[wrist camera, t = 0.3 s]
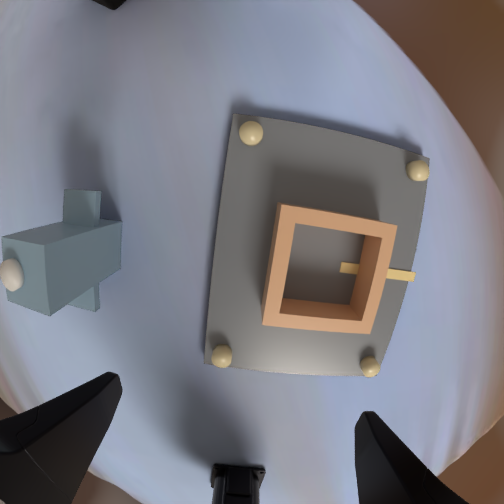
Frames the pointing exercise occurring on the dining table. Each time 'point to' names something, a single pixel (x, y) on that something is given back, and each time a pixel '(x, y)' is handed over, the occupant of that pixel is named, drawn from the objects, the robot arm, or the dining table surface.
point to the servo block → (63, 257)
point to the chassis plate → (311, 249)
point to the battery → (110, 3)
